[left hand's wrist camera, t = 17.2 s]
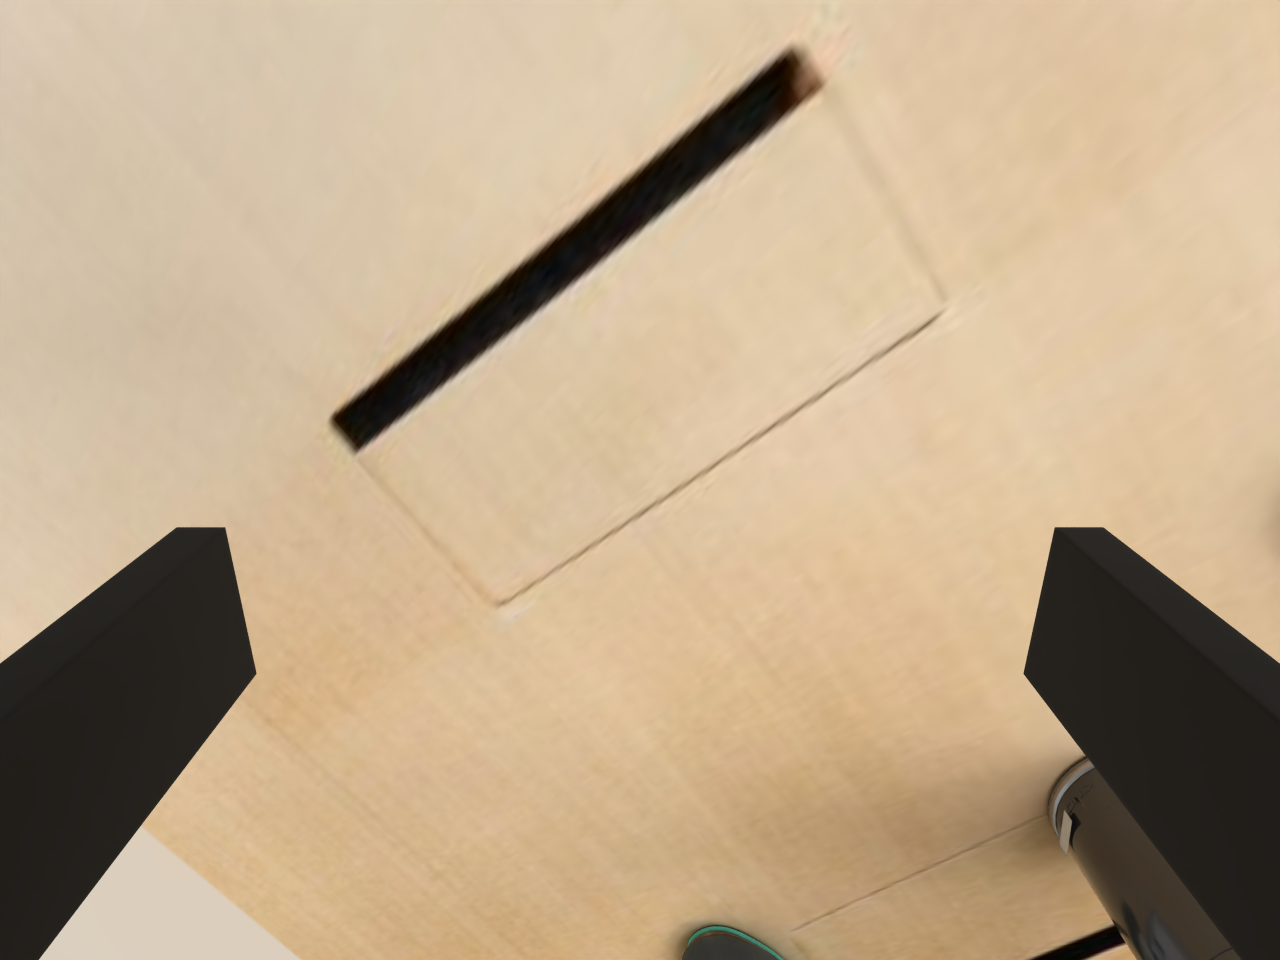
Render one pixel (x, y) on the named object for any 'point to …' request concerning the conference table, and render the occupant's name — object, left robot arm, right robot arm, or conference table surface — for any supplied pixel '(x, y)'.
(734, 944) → the ballet flat
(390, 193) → the conference table surface
